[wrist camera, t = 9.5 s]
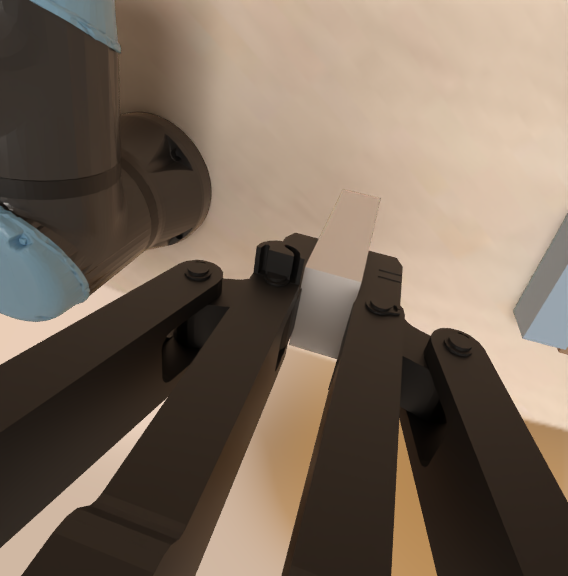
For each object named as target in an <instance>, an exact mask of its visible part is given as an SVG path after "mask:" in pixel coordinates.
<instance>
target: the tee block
mask: <svg viewBox="0 0 568 576" xmlns="http://www.w3.org/2000/svg"><path fill="white" fill-rule="evenodd" d="M513 312H514V315H515V318H516V321H517V324H518V326H519V329H520V332H521V335H522V338H523V339H526V340H530V341H534V342H538V343H541V344H545V345H549V346H553V347H556V348H560V349H564V350H566V348H567V347H568V214H567V216H566V217H565V219H564V221H563V223H562V225H561V226H560V228H559V230H558V232H557V233H556V235H555V237H554V239H553V241H552V242H551V244H550V246H549V248H548V249H547V251H546V253H545V255H544V257H543V258H542V260H541V262H540V264H539V265H538V267H537V269H536V271H535V273H534V274H533V276H532V278H531V280H530V281H529V283H528V285H527V287H526V289H525V290H524V292H523V294H522V296H521V297H520V299H519V301H518V303H517V305H516V306H515V308H514V310H513Z"/></svg>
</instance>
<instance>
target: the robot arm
mask: <svg viewBox="0 0 568 576" xmlns="http://www.w3.org/2000/svg"><path fill="white" fill-rule="evenodd" d="M119 53H121V46H120V44H119V43H118V37H117V26H116V14H115V0H0V313H1V314H4V315H6V316H9V317H12V318H15V319H19V320H24V321H33V322H40V321H47V320H50V319H53V318H56V317H57V316H60V315H61V314H63V313H64V312H66V311H67V310H69V309H70V308H72V307H73V306H74V305H76V304H79V303H82V302H84V301H85V300H87V298H88V297H89V296H90V295H91V294H92V293H93V292H95V291H96V290H97V289H98V288H100V287H101V286H102V285H103V284H105V283H106V282H107V281H108V280H109V279H111V278H112V277H113V276H114V275H116V274H117V273H118V272H119V271H121V270H122V269H123V268H124V267H125V266H127V265H128V264H129V263H130V262H132V261H133V260H134V259H135V258H136V257H138V256H139V255H140V254H141V253H143V252H144V251H145V250H149V249H154V248H159V247H164V246H168V245H172V244H175V243H178V242H180V241H182V240H183V239H185V238H187V237H188V236H189V235H190V234H191V233H193V232H194V231H195V230H196V229H197V228H198V227H199V226H200V225H201V224H202V222H203V221H204V219H205V217H206V215H207V213H208V210H209V206H210V200H211V185H210V179H209V175H208V171H207V168H206V165H205V163H204V161H203V159H202V156H201V155H200V153H199V151H198V150H197V148H196V147H195V145H194V144H193V142H192V141H191V140H190V139H189V138H188V137H187V136H186V135H185V133H183V132H182V131H181V130H180V129H179V128H178V127H176V126H175V125H174V124H172V123H171V122H169V121H167V120H165V119H164V118H161V117H159V116H156V115H153V114H150V113H144V112H132V113H126V114H123V115H120V107H119ZM380 199H381V198H378V197H374V196H370V195H366V194H361V193H357V192H353V191H349V190H345V189H343V190H342V192H341V194H340V196H339V198H338V200H337V203H336V205H335V207H334V209H333V211H332V213H331V215H330V217H329V219H328V221H327V223H326V225H325V227H324V229H323V231H322V233H321V235H320V237H319V239H317V238H313V237H310V236H306V235H302V234H298V233H294V234H292V235H290V236H287V237H286V238H285V239H284V241H267V242H263V243H261V244H259V245H258V246H257V249H256V257H255V265H254V273H253V274H252V276H251V277H250V278H249V279H244V280H235V279H223V272H222V270H221V268H220V267H218V266H217V265H215V264H214V263H211V262H207V261H203V260H192V261H186V262H183V263H180V264H178V265H176V266H175V267H173V268H171V269H169V270H167V271H166V272H164V273H162V274H160V275H159V276H157V277H155V278H153V279H152V280H150V281H148V282H146V283H144V284H143V285H141V286H139V287H137V288H136V289H134V290H132V291H130V292H129V293H127V294H125V295H123V296H121V297H120V298H118V299H116V300H114V301H113V302H111V303H109V304H107V305H105V306H104V307H102V308H100V309H98V310H97V311H95V312H93V313H91V314H90V315H88V316H86V317H84V318H83V319H81V320H79V321H77V322H75V323H74V324H72V325H70V326H68V327H67V328H65V329H63V330H61V331H60V332H58V333H56V334H54V335H52V336H51V337H49V338H47V339H46V340H44V341H42V342H40V343H38V344H37V345H35V346H33V347H31V348H29V349H28V350H26V351H24V352H22V353H20V354H19V355H17V356H15V357H13V358H12V359H10V360H8V361H6V362H5V363H3V364H1V365H0V548H1V547H2V546H3V545H4V544H5V543H6V542H7V541H9V540H10V539H11V538H12V537H13V536H14V535H15V534H16V533H17V532H19V531H20V530H21V529H22V528H23V527H24V526H25V525H26V524H27V523H29V522H30V521H31V520H32V519H33V518H34V517H35V516H36V515H37V514H38V513H40V512H41V511H42V510H43V509H44V508H45V507H46V506H47V505H48V504H50V503H51V502H52V501H53V500H54V499H55V498H56V497H57V496H58V495H60V494H61V493H62V492H63V491H64V490H65V489H66V488H67V487H68V486H70V484H72V483H73V482H74V481H75V480H76V479H77V478H78V477H79V476H81V475H82V474H83V473H84V472H85V471H86V470H87V469H88V468H90V467H91V466H92V465H93V464H94V463H95V462H96V461H97V460H98V459H99V458H100V457H102V456H103V455H104V454H105V453H106V452H107V451H108V450H109V449H110V448H112V447H113V446H114V445H115V444H116V443H117V442H118V441H119V440H121V438H123V437H124V436H125V435H126V434H127V433H128V432H129V431H131V430H132V429H133V428H134V427H135V426H136V425H137V424H138V423H139V422H141V421H142V420H143V419H144V418H145V417H146V416H147V415H148V414H149V413H151V412H152V411H153V410H154V409H155V408H156V407H157V406H158V405H159V404H160V403H162V402H163V401H164V400H165V399H166V398H167V397H168V398H167V399H166V401H165V402H164V404H163V405H162V406H161V408H160V409H159V411H158V412H157V414H156V415H155V417H154V418H153V420H152V421H151V422H150V424H149V425H148V427H147V429H146V430H145V431H144V433H143V434H142V436H141V437H140V439H139V440H138V441H137V443H136V444H135V446H134V447H133V449H132V450H131V452H130V453H129V455H128V456H127V458H126V459H125V460H124V462H123V463H122V465H121V466H120V468H119V469H118V471H117V472H116V474H115V475H114V476H113V478H112V479H111V481H110V482H109V484H108V485H107V487H106V488H105V490H104V491H103V492H102V494H101V495H100V496H99V498H98V499H97V500H96V501H95V502H93V503H92V504H91V505H90V506H84V507H80V508H77V509H76V510H74V511H73V512H72V513H71V514H69V515H68V516H67V517H66V518H65V519H64V520H63V521H62V522H61V524H60V525H59V526H58V527H57V528H56V529H55V531H54V532H53V533H52V535H51V536H50V537H49V539H48V540H47V541H46V543H45V544H44V546H43V547H42V548H41V549H40V551H39V552H38V554H37V555H36V556H35V558H34V559H33V560H32V562H31V563H30V564H29V566H28V567H27V569H26V570H25V571H24V573H23V574H22V575H21V576H195V575H196V572H197V570H198V568H199V565H200V563H201V560H202V558H203V555H204V553H205V550H206V548H207V546H208V543H209V541H210V538H211V536H212V533H213V531H214V528H215V526H216V523H217V521H218V519H219V516H220V514H221V511H222V509H223V507H224V504H225V501H226V499H227V497H228V494H229V492H230V489H231V487H232V485H233V482H234V479H235V477H236V475H237V472H238V470H239V467H240V465H241V462H242V460H243V457H244V455H245V453H246V450H247V448H248V445H249V443H250V441H251V438H252V436H253V433H254V431H255V428H256V426H257V424H258V421H259V418H260V416H261V413H262V411H263V409H264V406H265V404H266V401H267V399H268V396H269V394H270V392H271V389H272V387H273V384H274V382H275V380H276V377H277V375H278V372H279V370H280V367H281V365H282V362H283V360H284V357H285V354H286V349H287V344H288V341H289V339H290V343H289V345H292V346H295V347H299V348H302V349H305V350H309V351H312V352H315V353H318V354H322V355H325V356H328V357H332V358H335V359H337V362H336V366H335V368H334V372H333V375H332V379H331V382H330V385H329V388H328V390H329V392H328V395H327V400H326V403H325V407H324V411H323V415H322V419H321V423H320V427H319V431H318V435H317V439H316V443H315V446H314V450H313V454H312V458H311V462H310V466H309V470H308V474H307V478H306V482H305V486H304V489H303V493H302V497H301V501H300V505H299V509H298V513H297V517H296V521H295V525H294V529H293V532H292V536H291V541H290V544H289V548H288V552H287V556H286V560H285V564H284V568H283V572H282V576H391V567H392V548H393V528H394V510H395V509H394V508H395V491H396V471H397V452H398V433H399V418H400V422H401V426H402V430H403V435H404V439H405V443H406V447H407V451H408V455H409V460H410V464H411V468H412V472H413V476H414V481H415V485H416V489H417V493H418V497H419V501H420V505H421V509H422V514H423V518H424V522H425V526H426V530H427V535H428V539H429V543H430V547H431V551H432V555H433V560H434V564H435V568H436V572H437V576H568V502H567V500H566V498H565V496H564V495H563V493H562V491H561V489H560V487H559V485H558V483H557V482H556V480H555V478H554V476H553V474H552V472H551V470H550V469H549V467H548V465H547V463H546V461H545V460H544V458H543V456H542V454H541V452H540V450H539V448H538V447H537V445H536V443H535V441H534V439H533V437H532V436H531V434H530V432H529V430H528V429H527V427H526V425H525V423H524V421H523V419H522V417H521V415H520V414H519V412H518V410H517V408H516V406H515V404H514V403H513V401H512V399H511V397H510V395H509V393H508V392H507V390H506V388H505V386H504V384H503V382H502V381H501V379H500V377H499V375H498V373H497V371H496V370H495V368H494V366H493V364H492V362H491V360H490V358H489V357H488V355H487V353H486V351H485V349H484V348H483V347H482V346H481V344H480V343H479V342H478V341H476V340H475V339H474V338H473V337H471V336H470V335H468V334H466V333H464V332H461V331H459V330H454V329H451V328H440V329H437V330H435V331H434V332H433V333H432V335H431V336H430V335H428V334H426V333H424V332H422V331H420V330H418V329H416V328H415V327H413V326H412V325H410V324H409V323H408V322H407V321H406V320H405V319H404V317H405V314H404V310H403V308H402V307H401V306H400V299H401V282H402V268H403V267H402V265H401V264H400V262H399V261H398V259H397V258H395V257H391V256H387V255H383V254H379V253H375V252H371V251H369V247H370V243H371V238H372V234H373V230H374V225H375V221H376V217H377V212H378V208H379V203H380ZM290 337H291V338H290Z"/></svg>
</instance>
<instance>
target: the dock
mask: <svg viewBox="0 0 568 576" xmlns="http://www.w3.org/2000/svg"><path fill="white" fill-rule="evenodd" d="M557 349H558V351H559V352H560V353H564V354H567V355H568V347H567V348H566V350H564V349H560V348H557Z"/></svg>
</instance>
